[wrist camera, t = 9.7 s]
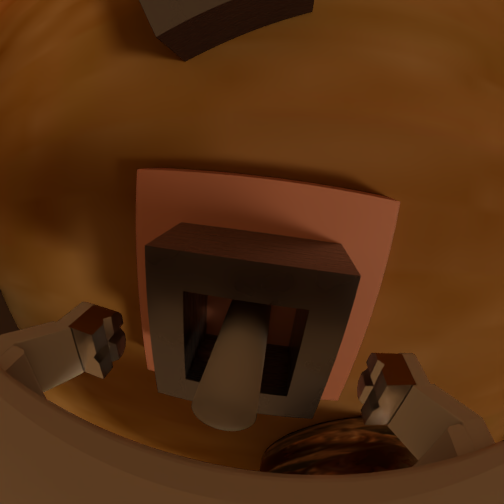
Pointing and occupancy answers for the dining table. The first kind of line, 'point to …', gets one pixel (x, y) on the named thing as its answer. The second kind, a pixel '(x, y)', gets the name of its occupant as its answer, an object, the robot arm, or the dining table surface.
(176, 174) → the keeper
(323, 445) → the jar
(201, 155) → the dining table surface
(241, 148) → the dining table surface
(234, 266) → the link
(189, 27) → the loose link
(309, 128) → the dining table surface
